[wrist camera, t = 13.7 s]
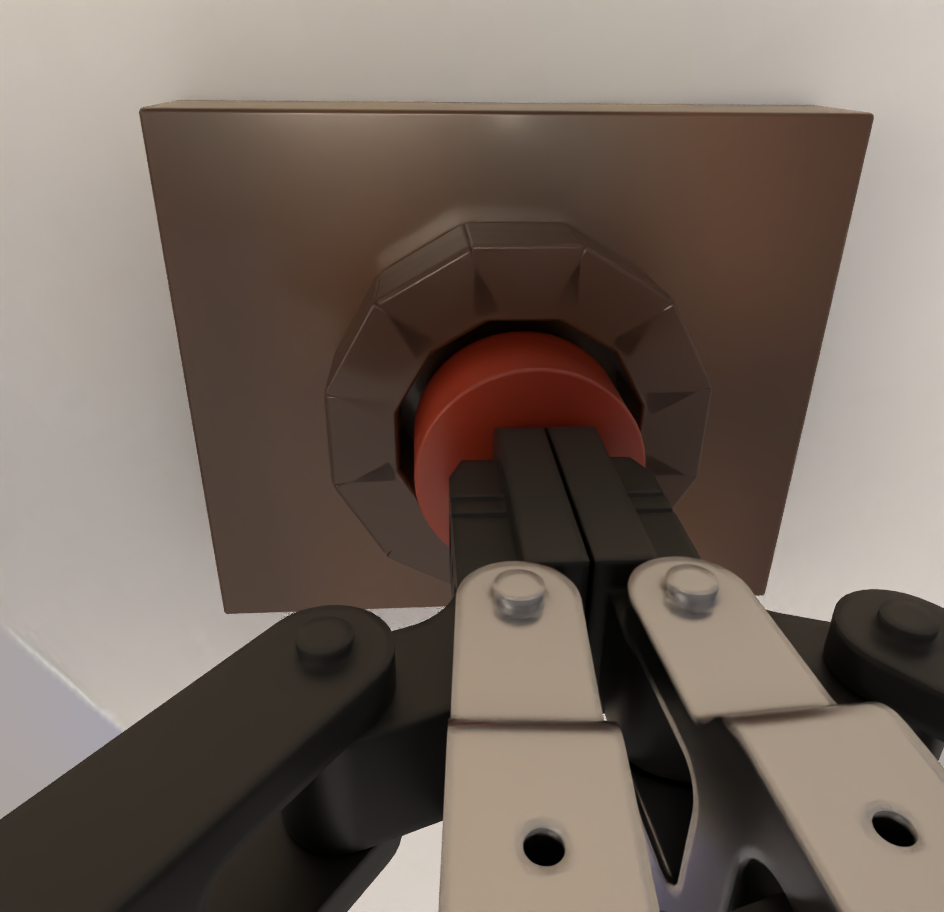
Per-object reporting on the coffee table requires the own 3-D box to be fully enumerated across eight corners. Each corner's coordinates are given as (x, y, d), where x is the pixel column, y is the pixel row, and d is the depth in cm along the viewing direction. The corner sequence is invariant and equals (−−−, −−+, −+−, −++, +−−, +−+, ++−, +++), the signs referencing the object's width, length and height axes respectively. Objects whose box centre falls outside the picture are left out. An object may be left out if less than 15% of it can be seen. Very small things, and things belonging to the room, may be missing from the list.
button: (416, 519, 14) (416, 577, 13) (411, 330, 13) (411, 370, 11) (609, 514, 14) (633, 570, 13) (630, 328, 13) (660, 367, 11)
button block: (243, 556, 19) (204, 674, 15) (174, 100, 14) (95, 115, 11) (730, 542, 19) (801, 651, 16) (815, 105, 15) (942, 121, 11)
